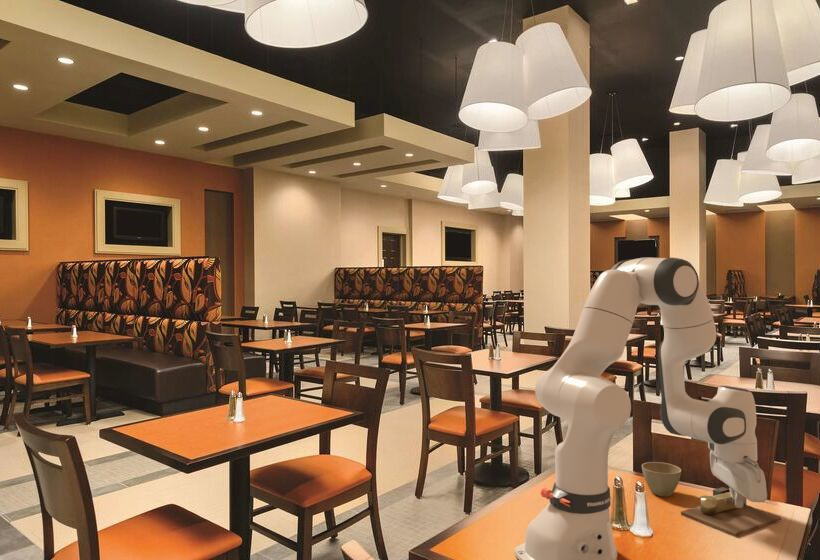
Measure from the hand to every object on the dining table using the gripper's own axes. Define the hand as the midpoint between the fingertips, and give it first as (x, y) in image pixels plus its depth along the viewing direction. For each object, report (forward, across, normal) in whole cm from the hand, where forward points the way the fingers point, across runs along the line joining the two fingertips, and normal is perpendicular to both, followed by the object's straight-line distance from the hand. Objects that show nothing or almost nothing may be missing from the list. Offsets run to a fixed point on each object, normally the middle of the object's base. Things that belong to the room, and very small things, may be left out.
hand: (737, 506), depth 138 cm
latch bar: (+1, +1, +4) cm, 4 cm away
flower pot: (+2, +14, +13) cm, 20 cm away
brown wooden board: (+2, -1, +3) cm, 4 cm away
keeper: (+1, +5, -1) cm, 5 cm away
